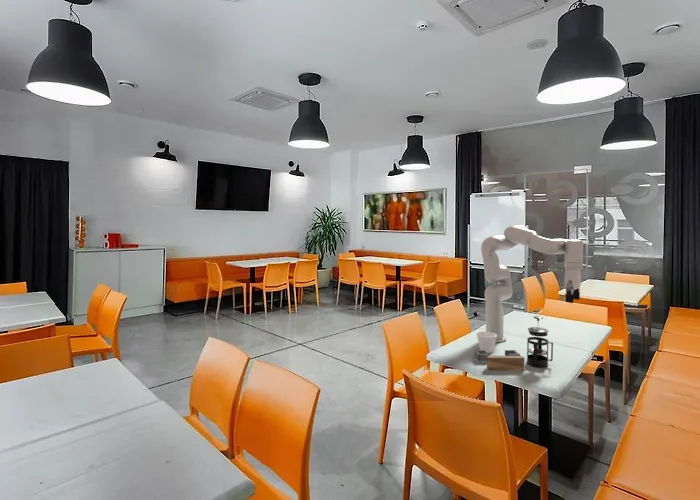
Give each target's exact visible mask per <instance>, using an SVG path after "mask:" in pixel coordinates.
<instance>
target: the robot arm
mask: <svg viewBox="0 0 700 500" xmlns="http://www.w3.org/2000/svg"><path fill="white" fill-rule="evenodd" d="M518 245H523V246H525V247H528V248H530V249H531V250H534V251H536V252H538V253H541V254H545V255H548V256H550V255H551V256H552V255H563V254H564V269H565V272H564V279H563V282H564V283H563V289H565V302H566V303H569V304H573V303H574V300H577V301H579V300H580V298H581V296H580V295H581V293H580V291H581V289H580V288H581V285H582V283H581V282H582V271H581V270H583V269H584V268H583V267H584V262H583V261H584V241H583V240H582V239H564V238H553V239H552V238H551V239H550V238H546V237H542V236H540V235H538V233H537V231H534V230H531V229H528V228H527V227H526V226H525V225H509V226H508V227H506V228H505V229H504V230H503V235H492V236H489V237H486V238H485V239H484V240H483V241H482V243H481V247H480V250H481V255H482V256H481V257H482V260H483V270H484V271H483V272H484V277H485V280H486V281H487V282H488V283H489V284H490V283H491V284H492V283H493V284H492V285H490V286H487V288H485V290H484V299H485V300H484V301H485V332H492V333H495V334H496V335H497V338H496V342H495V343H503V342H506V341H507V337H506V336H505V335H504V323H505V321H504V319H505V318H504V317H505V316H504V305H503V303H502V302H503V301H506V300H509V299H511V298H512V296H513V294H514V293H513V290H514V289H513V281H512V274H511V270H510V269H509V267H508V266H505V265H501V264H500V259H499V256H498V254H497V252H498V251H499V252H500V251H508V250H510V249H512V248H514V247H516V246H518ZM494 283H496V284H494Z"/></svg>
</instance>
